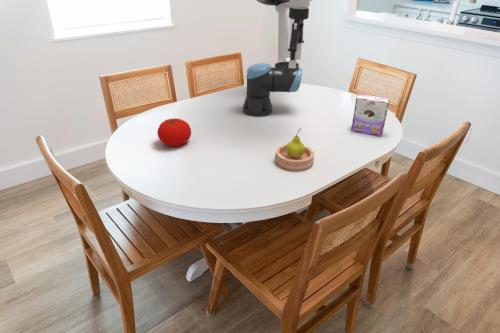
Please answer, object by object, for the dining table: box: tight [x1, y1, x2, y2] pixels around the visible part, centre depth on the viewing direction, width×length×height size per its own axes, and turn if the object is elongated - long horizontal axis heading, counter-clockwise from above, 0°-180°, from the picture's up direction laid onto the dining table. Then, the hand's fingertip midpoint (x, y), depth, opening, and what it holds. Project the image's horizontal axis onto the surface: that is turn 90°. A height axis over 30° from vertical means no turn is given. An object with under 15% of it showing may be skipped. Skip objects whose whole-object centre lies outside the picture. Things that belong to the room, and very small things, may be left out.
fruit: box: [286, 128, 305, 158], centre depth 143 cm, size 7×7×12 cm
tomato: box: [156, 117, 192, 147], centre depth 156 cm, size 14×13×10 cm
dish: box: [274, 143, 315, 172], centre depth 146 cm, size 15×15×4 cm
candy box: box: [350, 93, 391, 137], centre depth 168 cm, size 14×6×16 cm, turn 65°
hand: (294, 63), depth 152 cm, fingers open, 13 cm apart
